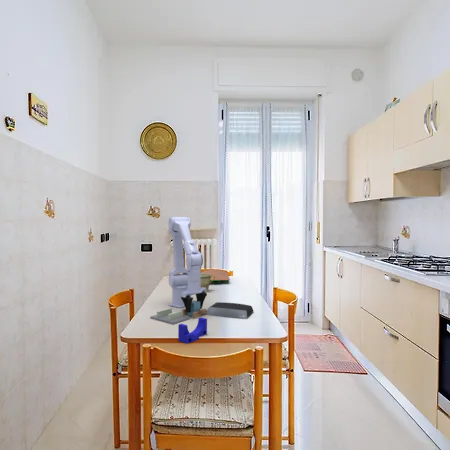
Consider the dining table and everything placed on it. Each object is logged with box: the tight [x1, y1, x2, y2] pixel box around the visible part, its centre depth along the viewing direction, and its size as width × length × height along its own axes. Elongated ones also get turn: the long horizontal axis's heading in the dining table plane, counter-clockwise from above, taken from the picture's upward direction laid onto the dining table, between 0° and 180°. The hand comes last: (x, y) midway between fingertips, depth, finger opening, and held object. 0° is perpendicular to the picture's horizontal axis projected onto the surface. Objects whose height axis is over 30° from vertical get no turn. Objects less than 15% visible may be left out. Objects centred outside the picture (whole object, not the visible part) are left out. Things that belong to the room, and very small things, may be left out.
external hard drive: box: [205, 301, 255, 320], centre depth 164 cm, size 13×19×4 cm
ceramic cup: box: [201, 273, 215, 293], centre depth 209 cm, size 13×10×10 cm
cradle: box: [181, 308, 208, 319], centre depth 161 cm, size 8×8×2 cm
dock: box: [149, 307, 191, 326], centre depth 154 cm, size 10×14×3 cm
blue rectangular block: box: [187, 299, 201, 317], centre depth 161 cm, size 4×4×6 cm
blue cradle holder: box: [177, 316, 208, 344], centre depth 131 cm, size 12×4×6 cm, turn 141°
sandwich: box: [201, 268, 230, 285], centre depth 246 cm, size 23×33×8 cm
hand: (194, 310), depth 161 cm, fingers open, 7 cm apart
